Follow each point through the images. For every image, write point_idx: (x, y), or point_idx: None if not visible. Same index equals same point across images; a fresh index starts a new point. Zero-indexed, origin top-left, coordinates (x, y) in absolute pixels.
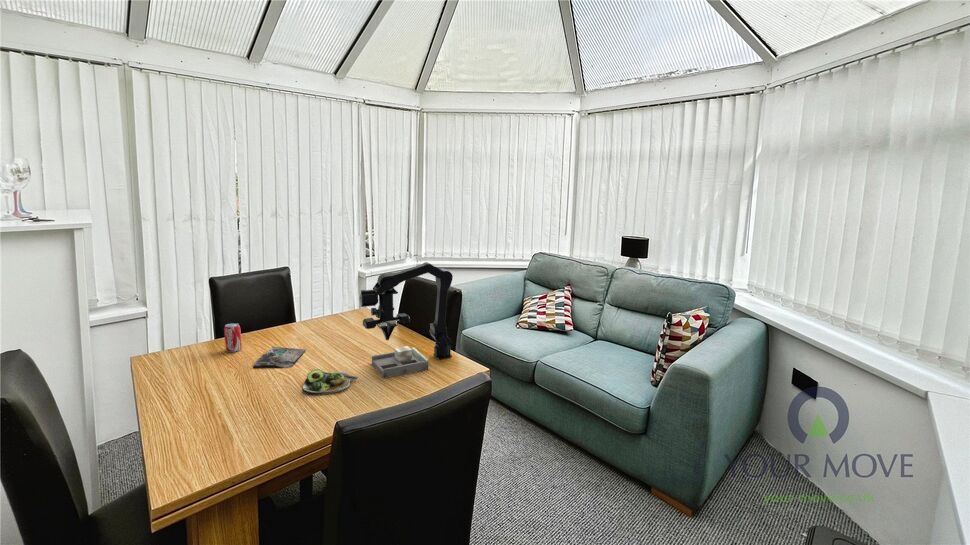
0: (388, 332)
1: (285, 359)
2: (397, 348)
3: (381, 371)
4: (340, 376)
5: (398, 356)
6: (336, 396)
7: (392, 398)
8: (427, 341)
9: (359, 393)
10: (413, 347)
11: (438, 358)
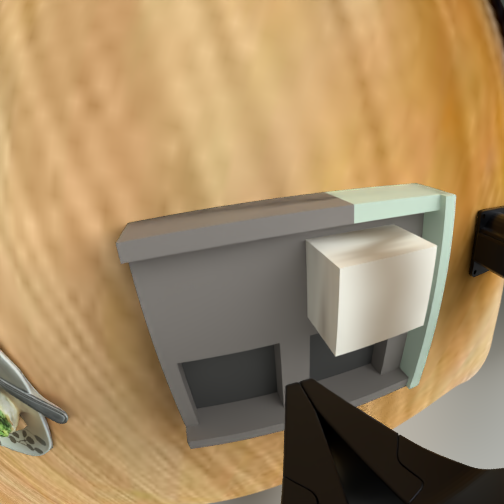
0: (352, 499)
1: None
2: (359, 281)
3: (178, 407)
4: (4, 424)
5: (320, 333)
6: (37, 457)
7: (202, 495)
8: (491, 41)
9: (100, 467)
10: (454, 197)
11: (470, 268)
